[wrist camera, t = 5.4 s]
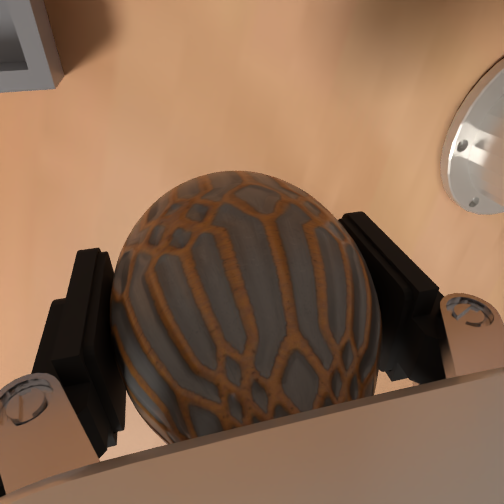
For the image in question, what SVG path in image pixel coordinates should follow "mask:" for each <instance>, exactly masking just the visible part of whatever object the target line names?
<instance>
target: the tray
mask: <svg viewBox="0 0 504 504" xmlns="http://www.w3.org/2000/svg"><path fill="white" fill-rule="evenodd" d="M63 78H64V73H63V69H62V66H61V62H60V58H59V55H58V51H57V47H56V44H55V40H54V37H53V33H52V29H51V26H50V22H49V18H48V15H47V11H46V8H45V4H44V0H0V93H3V92H18V91H32V90H47V89H56V87H57V86H58V85H59V83H60V82H61V80H62V79H63Z"/></svg>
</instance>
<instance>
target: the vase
mask: <svg viewBox="0 0 504 504" xmlns="http://www.w3.org/2000/svg"><path fill="white" fill-rule="evenodd" d="M109 326H110V334H111V343H112V347H113V352H114V356H115V360H116V364H117V367H118V370H119V373H120V376H121V378H122V381H123V384H124V386H125V388H126V390H127V393H128V395H129V397H130V399H131V401H132V402H133V404H134V406H135V408H136V409H137V411H138V412H139V414H140V415H141V417H142V418H143V419H144V420H145V422H146V423H147V424H148V425H149V427H150V428H151V429H152V430H153V431H154V432H155V433H156V434H157V435H158V436H159V437H160V438H161V439H162V440H163V441H164V442H165V443H166V444H172V443H177V442H181V441H185V440H189V439H193V438H197V437H201V436H205V435H210V434H214V433H218V432H222V431H226V430H230V429H234V428H238V427H243V426H247V425H251V424H255V423H259V422H263V421H268V420H272V419H276V418H280V417H284V416H289V415H293V414H297V413H301V412H306V411H310V410H314V409H318V408H322V407H327V406H331V405H335V404H339V403H344V402H348V401H352V400H356V399H361V398H365V397H369V396H374V393H375V387H376V382H377V376H378V371H379V365H380V358H381V351H382V320H381V312H380V306H379V302H378V297H377V293H376V290H375V287H374V284H373V280H372V277H371V274H370V272H369V269H368V267H367V264H366V262H365V260H364V258H363V256H362V254H361V252H360V250H359V249H358V247H357V245H356V243H355V242H354V240H353V239H352V238H351V236H350V235H349V234H348V232H347V231H346V230H345V228H344V227H343V226H342V224H341V223H340V222H339V221H338V220H337V219H336V218H335V217H334V216H333V215H332V214H331V213H330V212H329V211H328V210H327V209H326V208H325V207H324V206H323V205H322V204H320V203H319V202H318V201H317V200H316V199H315V198H313V197H312V196H311V195H309V194H308V193H306V192H305V191H303V190H301V189H300V188H298V187H296V186H294V185H292V184H290V183H288V182H286V181H283V180H281V179H278V178H275V177H272V176H268V175H264V174H261V173H255V172H248V171H224V172H216V173H211V174H207V175H203V176H199V177H197V178H194V179H191V180H189V181H187V182H184V183H182V184H180V185H179V186H177V187H175V188H173V189H172V190H170V191H169V192H167V193H166V194H164V195H163V196H162V197H160V198H159V199H158V200H157V201H156V202H155V203H154V204H153V205H152V206H151V207H150V208H149V209H148V210H147V211H146V212H145V213H144V215H143V216H142V217H141V218H140V219H139V221H138V222H137V223H136V225H135V226H134V228H133V229H132V231H131V233H130V235H129V236H128V238H127V240H126V242H125V244H124V246H123V248H122V250H121V253H120V255H119V258H118V261H117V265H116V269H115V273H114V277H113V282H112V289H111V296H110V309H109Z"/></svg>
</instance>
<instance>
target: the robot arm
mask: <svg viewBox="0 0 504 504" xmlns="http://www.w3.org/2000/svg"><path fill="white" fill-rule="evenodd" d="M440 168H441V179H442V183H443V187H444V189H445V191H446V193H447V195H448V196H449V198H450V199H451V200H452V201H454V202H455V203H456V204H457V205H458V206H460V207H462V208H463V209H465V210H466V211H468V212H472V213H475V214H479V215H492V214H498V213H503V212H504V58H503V59H502V60H501V61H499V62H498V63H497V64H496V65H495V66H494V67H493V68H492V69H490V70H489V71H488V72H487V73H486V74H485V75H484V76H483V77H482V78H481V79H480V81H479V82H478V83H477V84H476V85H475V87H474V88H473V89H472V90H471V91H470V93H469V94H468V95H467V97H466V98H465V100H464V102H463V103H462V105H461V106H460V108H459V109H458V111H457V113H456V115H455V117H454V119H453V121H452V123H451V125H450V127H449V129H448V132H447V135H446V139H445V142H444V145H443V149H442V155H441V162H440ZM338 221H339V222H340V223H341V224H342V226H343V227H344V228H345V230H346V231H347V232H348V234H349V235H350V236H351V238H352V239H353V240H354V242H355V243H356V245H357V247H358V249H359V250H360V252H361V254H362V256H363V258H364V260H365V262H366V264H367V267H368V269H369V272H370V274H371V277H372V280H373V284H374V287H375V290H376V293H377V297H378V302H379V306H380V312H381V320H382V351H381V358H380V365H379V370H380V371H382V372H384V371H385V372H386V373H387V375H388V377H389V378H390V380H391V381H396V380H401V379H405V378H409V379H410V380H412V381H413V387H408V388H404V389H400V390H395V391H391V392H387V393H382V394H378V395H374V396H369V397H365V398H361V399H356V400H352V401H348V402H344V403H339V404H335V405H331V406H327V407H322V408H318V409H314V410H310V411H306V412H301V413H297V414H293V415H289V416H284V417H280V418H276V419H272V420H268V421H263V422H259V423H255V424H251V425H247V426H243V427H238V428H234V429H230V430H226V431H222V432H218V433H214V434H210V435H205V436H201V437H197V438H193V439H189V440H185V441H181V442H177V443H172V444H168V445H164V446H160V447H156V448H152V449H148V450H144V451H140V452H137V453H133V454H129V455H125V456H121V457H117V458H113V459H110V460H106V461H102V462H100V460H99V458H100V457H101V456H102V455H103V454H104V453H105V452H106V451H107V447H111V446H115V445H117V432H118V431H122V430H124V427H125V406H126V388H125V386H124V384H123V381H122V378H121V376H120V373H119V370H118V367H117V364H116V360H115V356H114V352H113V347H112V343H111V334H110V326H109V309H110V296H111V289H112V282H113V277H114V271H113V268H112V264H111V261H110V257H109V254H108V252H101V250H100V249H99V248H93V249H85V250H79V251H77V255H76V259H75V263H74V267H73V271H72V275H71V279H70V283H69V287H68V291H67V295H66V298H63V299H57V300H54V301H53V302H52V304H51V307H50V310H49V314H48V317H47V321H46V324H45V328H44V331H43V335H42V338H41V342H40V345H39V349H38V352H37V355H36V359H35V362H34V366H33V369H32V373H31V374H29V375H25V376H23V377H20V378H18V379H15V380H14V381H12V382H11V383H9V384H7V385H6V386H4V387H3V388H2V389H1V390H0V504H504V324H503V321H502V319H501V317H500V315H499V313H498V312H497V310H496V309H495V308H494V307H493V306H492V305H491V304H489V303H488V302H486V301H484V300H483V299H481V298H478V297H475V296H473V295H468V294H464V293H454V294H448V295H447V296H445V297H444V296H443V295H442V294H441V293H440V292H439V287H438V286H437V285H436V284H435V283H434V282H433V281H432V280H431V279H430V278H429V277H428V276H427V275H426V274H425V273H424V272H423V271H422V270H421V269H420V268H419V267H418V266H417V265H416V264H415V263H414V262H413V261H412V260H411V259H410V258H409V257H408V256H407V255H406V254H405V253H404V252H403V251H402V250H401V249H400V248H399V247H398V246H397V245H396V244H395V243H394V242H393V241H392V240H391V239H390V238H389V237H388V236H387V235H386V234H385V233H384V232H383V231H382V230H381V229H380V228H379V227H378V226H377V225H376V224H375V223H374V222H373V221H372V220H371V219H370V218H369V217H368V216H367V215H366V214H365V213H364V212H353V213H346V214H344V215H343V217H342V219H339V220H338Z"/></svg>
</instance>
